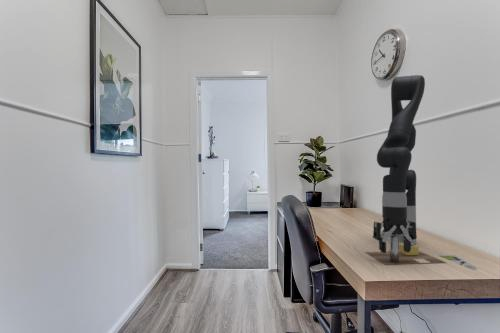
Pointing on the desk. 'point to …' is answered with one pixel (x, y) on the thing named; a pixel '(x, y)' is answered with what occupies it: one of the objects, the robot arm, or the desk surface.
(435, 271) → the desk surface
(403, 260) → the board
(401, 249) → the yellow square block
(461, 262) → the handheld gaming device
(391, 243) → the metal cylinder
